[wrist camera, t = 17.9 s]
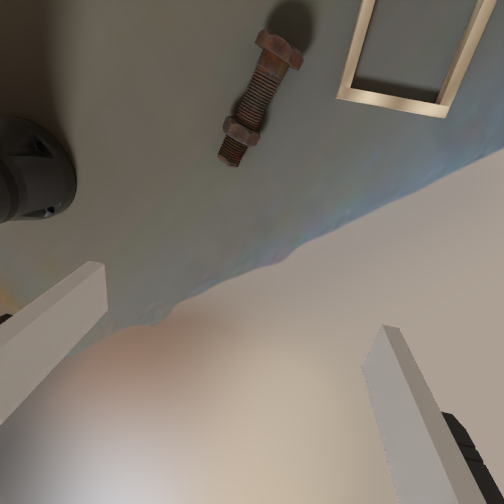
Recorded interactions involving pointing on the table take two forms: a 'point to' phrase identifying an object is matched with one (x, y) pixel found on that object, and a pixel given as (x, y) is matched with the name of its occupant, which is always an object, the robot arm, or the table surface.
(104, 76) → the table surface
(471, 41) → the square wooden frame
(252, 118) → the bolt
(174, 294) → the table surface
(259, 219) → the table surface
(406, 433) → the robot arm
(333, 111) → the table surface
